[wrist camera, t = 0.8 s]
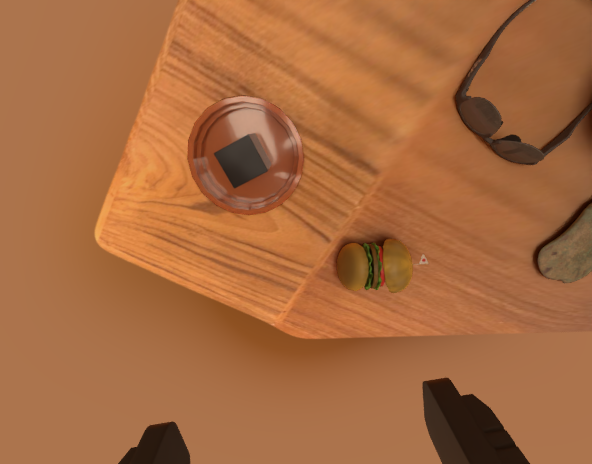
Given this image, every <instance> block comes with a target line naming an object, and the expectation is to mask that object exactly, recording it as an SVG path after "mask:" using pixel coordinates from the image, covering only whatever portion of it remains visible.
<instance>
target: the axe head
mask: <svg viewBox="0 0 592 464" xmlns="http://www.w3.org/2000/svg"><path fill="white" fill-rule="evenodd" d="M538 265H539V269H540V271H541V273H542V274H543V276H545V277H546V278H548V279H553V280H561V281H563V283H571V282H574V281H577V280H579V279H581V278H583V277H584V276H586V275H588V274H589V273H590V272H591V271H592V203H591V204H589V205H588V206H587V207H586V208H585V209H584V210H583V212H582V213H581V214H580V215H579V217H578V218H577V219H576V220H575V221H574V223H573V224H572V225H571V226H570V227H569V228H568V229H567V230H566V231H565V232H564V233H563V234H562V235H560V236H559V237H558V238H556V239H555V240H553V241H552V242H550V243H549V244H547V245H545V246H544V247H543V248H542V249H541V251H540V252H539V255H538Z"/></svg>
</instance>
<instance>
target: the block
mask: <svg viewBox="0 0 592 464" xmlns="http://www.w3.org/2000/svg"><path fill="white" fill-rule="evenodd" d="M214 155H215V157H216V159H217V160H218V162H219V164H220V165H221V167H222V169H223V171H224V172H225V174H226V176H227V177H228V179H229V181H230V183H231V184H232V186H233V188H234V189H235V188H237V187H239V186H241V185H242V184H244V183H246V182H248V181H250V180H252V179H254V178H256V177H258V176H260V175H261V174H263V173H265V172H267V171H268V170H269V168H270V166H271V162H270V160H269V158H268V156H267V154H266V152H265V151H264V149H263V147H262V145H261V143H260V141H259V139H258V137H257V135H256V134H255V133H254V134H247V135H246V136H244V137H242V138H240V139H238V140H237V141H235V142H233V143H231V144H229V145H228V146H226V147H224V148H222V149H220V150H219V151H217V152H215V153H214Z"/></svg>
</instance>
